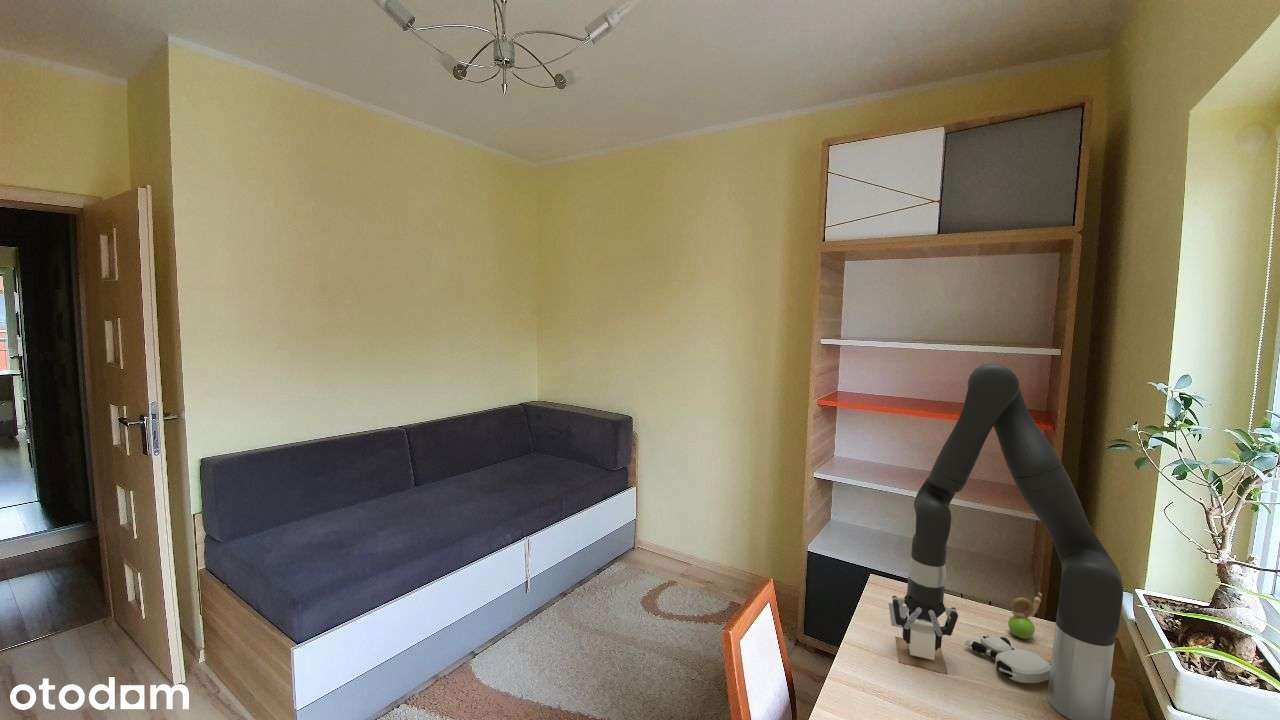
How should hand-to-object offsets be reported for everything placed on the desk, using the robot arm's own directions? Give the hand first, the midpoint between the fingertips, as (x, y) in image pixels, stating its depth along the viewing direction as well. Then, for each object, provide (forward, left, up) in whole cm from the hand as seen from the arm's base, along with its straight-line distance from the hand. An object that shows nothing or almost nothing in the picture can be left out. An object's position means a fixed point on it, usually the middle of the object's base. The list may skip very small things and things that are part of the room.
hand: (921, 644), depth 124 cm
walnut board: (0, 0, -3) cm, 3 cm away
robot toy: (-19, -4, -3) cm, 19 cm away
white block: (0, 0, -2) cm, 2 cm away
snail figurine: (-25, -18, -3) cm, 31 cm away
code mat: (0, -15, -3) cm, 15 cm away
